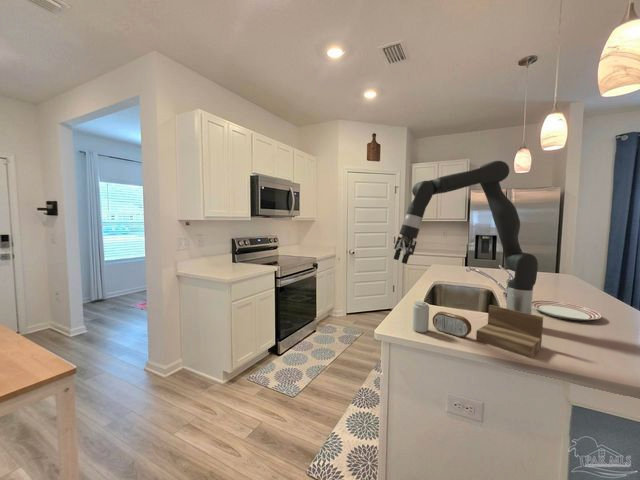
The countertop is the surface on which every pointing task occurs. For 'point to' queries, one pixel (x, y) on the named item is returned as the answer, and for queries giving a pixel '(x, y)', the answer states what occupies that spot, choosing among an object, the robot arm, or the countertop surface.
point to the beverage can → (420, 316)
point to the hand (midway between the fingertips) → (399, 261)
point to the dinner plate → (565, 310)
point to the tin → (451, 324)
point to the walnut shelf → (512, 331)
